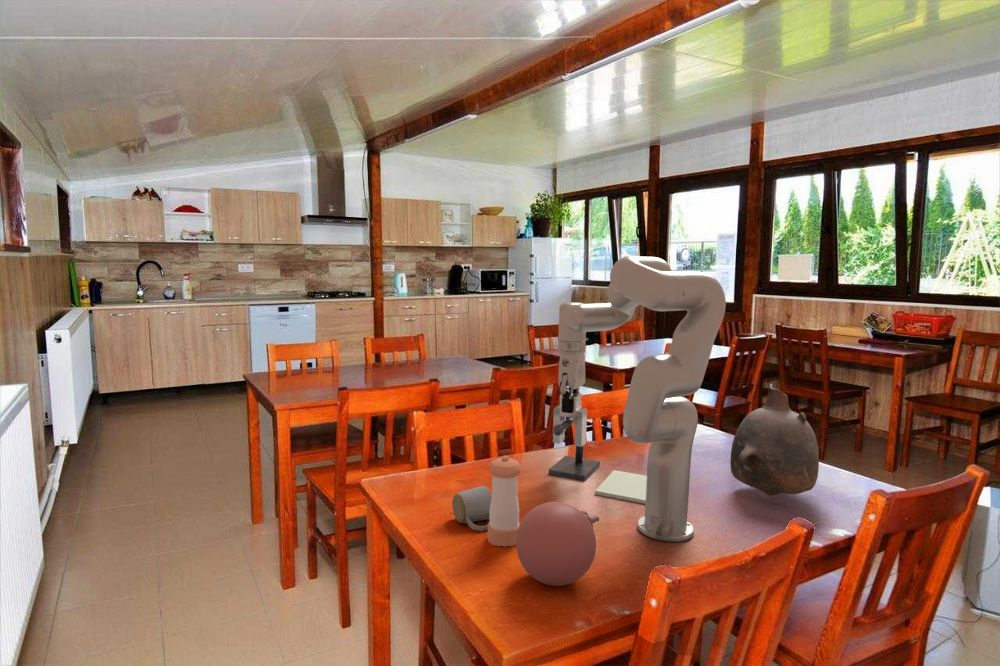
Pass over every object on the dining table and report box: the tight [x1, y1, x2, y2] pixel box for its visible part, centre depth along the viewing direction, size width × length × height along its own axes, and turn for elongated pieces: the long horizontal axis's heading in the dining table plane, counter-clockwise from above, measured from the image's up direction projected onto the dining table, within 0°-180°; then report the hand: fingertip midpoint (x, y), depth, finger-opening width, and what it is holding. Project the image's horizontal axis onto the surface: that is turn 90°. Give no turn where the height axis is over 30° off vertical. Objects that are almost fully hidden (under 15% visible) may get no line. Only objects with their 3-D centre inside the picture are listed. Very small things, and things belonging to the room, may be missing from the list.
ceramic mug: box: [451, 485, 492, 532], centre depth 145 cm, size 11×8×8 cm
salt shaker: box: [487, 455, 522, 547], centre depth 136 cm, size 7×7×19 cm
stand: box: [548, 417, 601, 482], centre depth 176 cm, size 24×11×18 cm, turn 154°
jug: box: [729, 383, 820, 497], centre depth 163 cm, size 24×21×30 cm
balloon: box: [515, 501, 600, 587], centre depth 120 cm, size 15×20×15 cm
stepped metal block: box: [552, 393, 588, 447], centre depth 174 cm, size 4×8×14 cm, turn 64°
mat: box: [594, 469, 647, 505], centre depth 168 cm, size 18×18×1 cm
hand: (570, 410), depth 174 cm, fingers closed on stepped metal block, 4 cm apart
